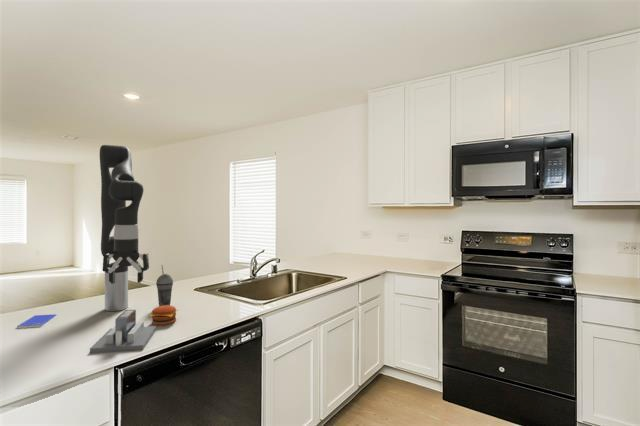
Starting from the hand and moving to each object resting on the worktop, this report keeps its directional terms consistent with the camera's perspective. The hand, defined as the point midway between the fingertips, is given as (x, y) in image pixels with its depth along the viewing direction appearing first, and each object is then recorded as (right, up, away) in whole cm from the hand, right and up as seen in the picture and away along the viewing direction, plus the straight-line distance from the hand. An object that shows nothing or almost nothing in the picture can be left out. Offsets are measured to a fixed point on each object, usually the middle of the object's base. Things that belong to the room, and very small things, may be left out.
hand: (126, 282), depth 122 cm
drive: (0, -19, +1) cm, 19 cm away
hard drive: (-45, -20, +17) cm, 52 cm away
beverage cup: (-4, -20, +39) cm, 44 cm away
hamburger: (+4, -21, +20) cm, 29 cm away
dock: (0, -21, +1) cm, 21 cm away
